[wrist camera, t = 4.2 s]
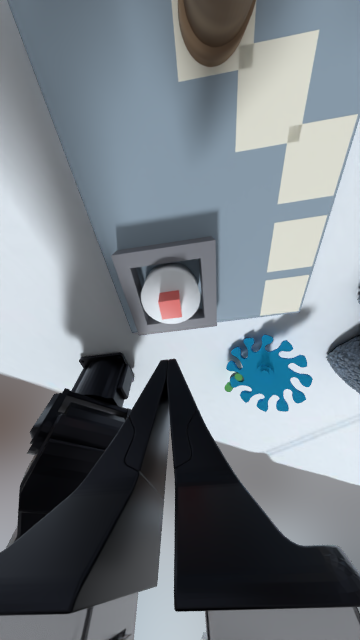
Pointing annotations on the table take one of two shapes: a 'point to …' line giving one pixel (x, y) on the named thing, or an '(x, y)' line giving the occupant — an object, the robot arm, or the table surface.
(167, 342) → the table surface
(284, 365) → the blue spiky piece
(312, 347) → the table surface
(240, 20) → the brown wooden cylinder
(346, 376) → the koala plush
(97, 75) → the board
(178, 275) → the dome button
